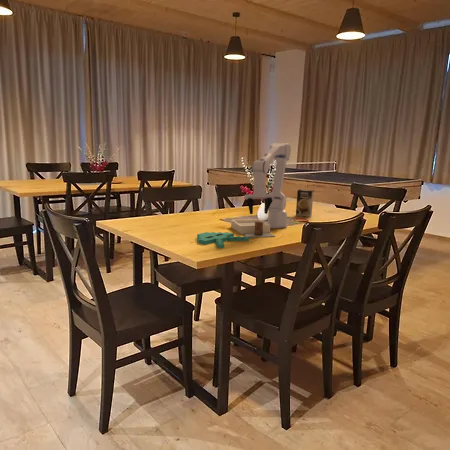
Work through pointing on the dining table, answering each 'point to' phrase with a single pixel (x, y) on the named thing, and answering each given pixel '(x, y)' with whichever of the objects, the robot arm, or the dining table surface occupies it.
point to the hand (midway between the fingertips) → (258, 213)
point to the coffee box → (304, 203)
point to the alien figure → (218, 238)
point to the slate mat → (251, 235)
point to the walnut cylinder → (258, 228)
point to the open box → (248, 226)
